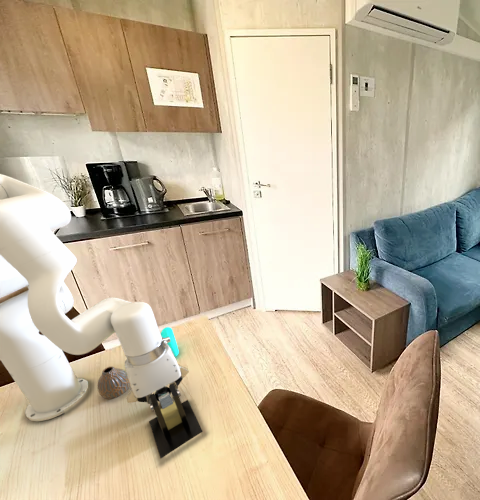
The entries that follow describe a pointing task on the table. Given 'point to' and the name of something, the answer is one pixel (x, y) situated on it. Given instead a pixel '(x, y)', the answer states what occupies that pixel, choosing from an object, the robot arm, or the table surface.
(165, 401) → the ball knob lever
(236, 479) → the table surface
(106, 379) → the vase
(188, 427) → the black lever base
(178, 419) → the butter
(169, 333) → the turquoise capsule pair
